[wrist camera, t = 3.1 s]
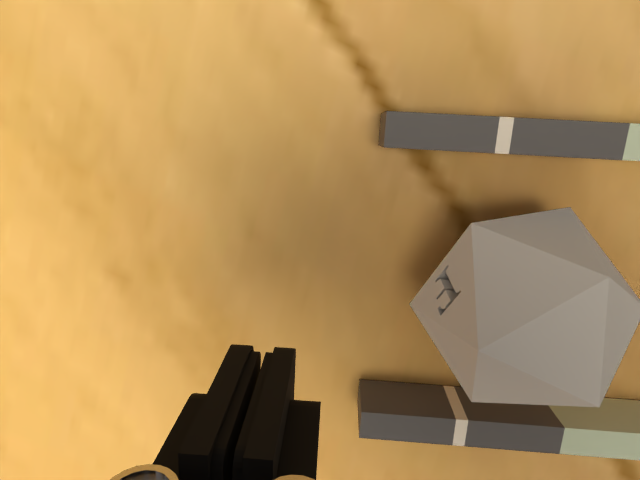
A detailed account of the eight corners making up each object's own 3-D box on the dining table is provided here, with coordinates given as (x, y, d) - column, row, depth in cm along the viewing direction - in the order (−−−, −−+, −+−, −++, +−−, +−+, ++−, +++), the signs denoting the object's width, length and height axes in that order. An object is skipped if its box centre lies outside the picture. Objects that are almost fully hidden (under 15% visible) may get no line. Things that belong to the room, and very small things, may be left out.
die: (530, 161, 22) (447, 189, 15) (699, 276, 19) (692, 379, 12) (443, 273, 27) (349, 333, 20) (566, 381, 24) (506, 498, 17)
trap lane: (830, 136, 21) (980, 138, 16) (735, 431, 24) (831, 505, 20) (380, 113, 21) (391, 108, 17) (357, 402, 25) (360, 466, 20)
